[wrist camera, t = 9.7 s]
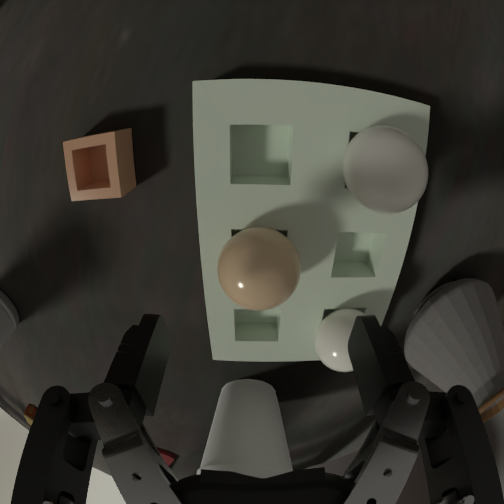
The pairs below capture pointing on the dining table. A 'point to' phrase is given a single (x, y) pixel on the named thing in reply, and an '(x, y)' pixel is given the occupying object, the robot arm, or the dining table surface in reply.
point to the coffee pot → (460, 342)
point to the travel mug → (7, 318)
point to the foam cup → (247, 432)
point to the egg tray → (294, 205)
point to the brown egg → (259, 268)
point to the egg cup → (100, 165)
